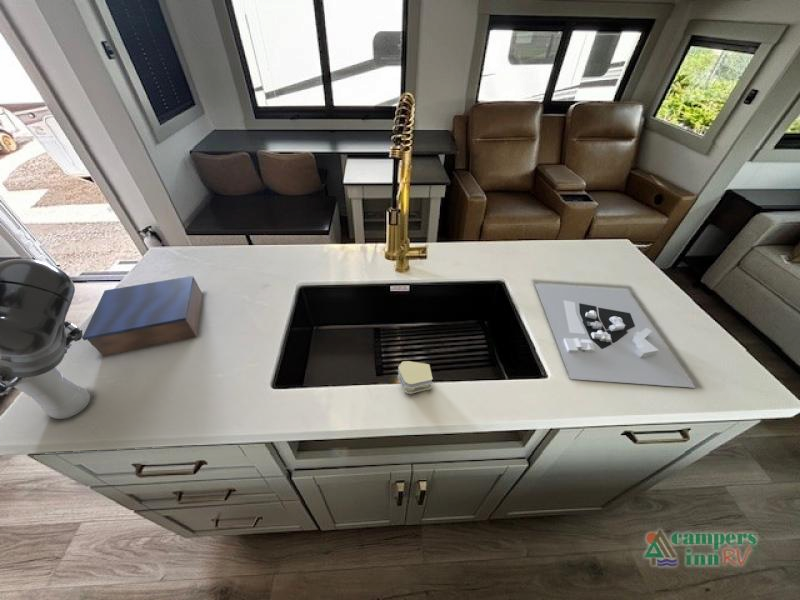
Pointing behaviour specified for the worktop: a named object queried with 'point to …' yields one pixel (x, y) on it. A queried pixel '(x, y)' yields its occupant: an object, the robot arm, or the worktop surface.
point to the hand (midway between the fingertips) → (32, 369)
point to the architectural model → (608, 337)
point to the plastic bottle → (55, 394)
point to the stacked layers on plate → (414, 376)
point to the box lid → (140, 307)
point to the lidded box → (154, 331)
